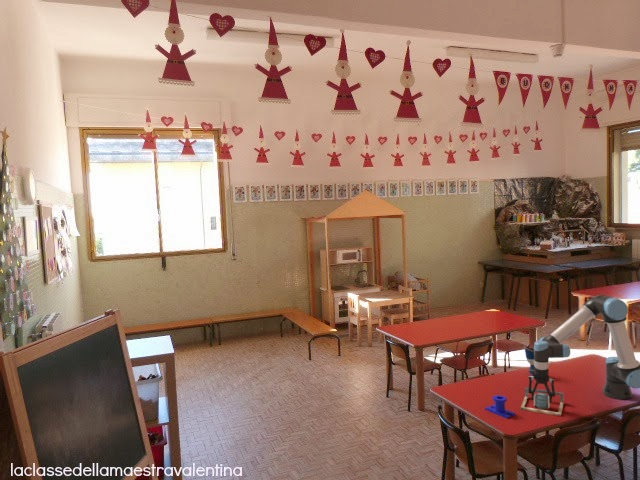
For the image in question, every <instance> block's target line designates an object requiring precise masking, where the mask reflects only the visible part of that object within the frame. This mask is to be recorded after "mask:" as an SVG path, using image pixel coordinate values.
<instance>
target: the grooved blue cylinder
mask: <svg viewBox="0 0 640 480" xmlns="http://www.w3.org/2000/svg"><path fill="white" fill-rule="evenodd" d="M535 394H536V405H535V407H536V409H539V410H547V409H549V408H548V396H549V395H548V394H547V393H541V392H537V393H535Z"/></svg>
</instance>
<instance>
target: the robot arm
mask: <svg viewBox="0 0 640 480" xmlns="http://www.w3.org/2000/svg"><path fill="white" fill-rule="evenodd" d="M628 314H629V308H628V305H627V304H626V302H625V301H623V300H622V299H620V298H618V297H613V296H609V295H605V294H598V295H596V296H593V297H591V298H590V299H588V300H587V301H585V303H583V304H582V305H581V308H580V309H579V310H578V311H576V312H575V313H574V314H573V315H572V316H570V317H569V318H568V319H567V320H565V321H564V322H563V323H562V324H561V325H559V327H557V328H556V329H555V330H553V332H551V333H550V334H549V335H548V336H543V337H541V338H540V339H539V340H537V341H536V340H535V342H534V345H533V349H534V367H535V368H534V376H533V375H529V376H528V380H529V382H528V388H529V390H528V394H530V395H531V400H533V407H536V394H537V393H536V392H535V390H536V389H538V388H537V387H538V385H544V387H545V389H546V390H547V392H548V393H547V396H548V408H547V409H550V407H551V404H552V402H553V398H555V397H556V395H555V392H556V390H555V379H554V378H551V377H550V375H549V374H550V373H549V368H550V367H549V359H551V358H552V359H555V358H556V359H558V358H562V359H563V358H569V357H570V356H571V348H570V346H569V345H568V344H567V343H566V344H564V343H563V342H564V341H565V340H567V339H568V338H569V337H571V336H572V335H573V334H574V333H575V332H576V331H578V330H579V329H580V328H581V327H582V326H584V325H585V324H586V323H587V322H588V321H590V320H591V319H593V318H596V317H597V316H599V315H601V317H602V320H603V322H604V323H605V324H607V327H608V329H609V330H608V331H609V334H610V336H611V340H612V342H613V346H614V351H615V353H616V356H609V357H606V361H605V369H606V370H605V371H606V372H605V373H606V376H605V378H606V380H605V383H604V385H603V388H602V393H603V395H604V396H606V397H609V398H613V399H615V400H616V399H617V400H629V399H630V400H631V399H632V398H633V391H632V389H637V390H638V389H640V361H638V360H637V359H636V357H635V352H634V349H633V345H632V342H631V339H630V335H629V333H628V329H627V325H626V321H627V319H628V318H627V315H628ZM533 380H535V385H534V386H533ZM548 382H550V383H551V389H550V386H549V385H548ZM532 386H533V387H532ZM531 388H533V391H531ZM631 388H632V389H631ZM551 391H552V394H551Z"/></svg>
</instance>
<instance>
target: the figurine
mask: <svg viewBox="0 0 640 480" xmlns="http://www.w3.org/2000/svg"><path fill="white" fill-rule="evenodd" d="M524 352H525V353H524V354H525V358H526V361H527V363H529V364H530V367H529V371H528V373H529V374H531V375H532V376H534V368H535V367H534V347H530V346H524Z"/></svg>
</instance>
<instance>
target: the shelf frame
mask: <svg viewBox="0 0 640 480" xmlns="http://www.w3.org/2000/svg"><path fill="white" fill-rule="evenodd" d="M527 399H528V400H529V396H528V397H527V396H525V395H524V398H523V400H522V403H521V405H520V410H522V411H527V412H534V413H540V414H545V415H552V416H557V417H561V416H562V413H563V408H564V404H565V402H564V403H563V402H561V401H560V403H559V407H558V411H557V412H556V411H552V410H551V411H550V410H547V409H540V408H533V407H526V405H527V401H528V400H527Z"/></svg>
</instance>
